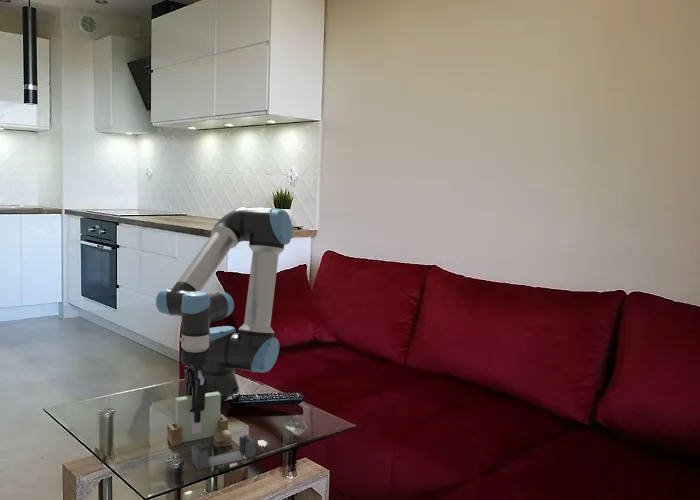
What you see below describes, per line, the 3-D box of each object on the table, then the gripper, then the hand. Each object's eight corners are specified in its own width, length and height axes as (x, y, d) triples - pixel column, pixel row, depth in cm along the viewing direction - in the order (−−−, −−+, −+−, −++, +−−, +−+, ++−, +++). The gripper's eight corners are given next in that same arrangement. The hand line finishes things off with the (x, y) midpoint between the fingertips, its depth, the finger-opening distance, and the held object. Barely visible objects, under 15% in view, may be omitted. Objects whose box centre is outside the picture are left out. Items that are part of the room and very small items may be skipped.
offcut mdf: (227, 435, 169) (227, 429, 169) (230, 438, 166) (230, 433, 166) (214, 437, 167) (214, 432, 167) (217, 441, 165) (217, 436, 164)
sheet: (217, 431, 174) (217, 391, 173) (220, 435, 172) (220, 394, 171) (175, 439, 168) (175, 397, 167) (177, 443, 166) (177, 400, 165)
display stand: (248, 452, 164) (248, 434, 163) (255, 460, 160) (255, 442, 159) (191, 464, 156) (191, 445, 156) (197, 472, 152) (197, 453, 151)
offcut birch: (228, 444, 170) (228, 439, 169) (232, 449, 167) (232, 443, 167) (212, 447, 167) (212, 442, 167) (216, 452, 165) (216, 447, 164)
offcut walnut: (226, 439, 169) (227, 434, 169) (231, 443, 167) (231, 438, 167) (213, 442, 167) (213, 437, 167) (217, 446, 165) (218, 441, 164)
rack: (222, 431, 177) (222, 414, 176) (227, 438, 172) (228, 420, 172) (167, 441, 169) (167, 423, 168) (171, 449, 164) (171, 430, 164)
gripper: (174, 342, 172) (173, 422, 174) (189, 357, 158) (189, 443, 161) (200, 340, 176) (199, 418, 178) (217, 354, 162) (216, 438, 165)
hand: (194, 430), depth 170 cm, fingers closed on sheet, 2 cm apart
